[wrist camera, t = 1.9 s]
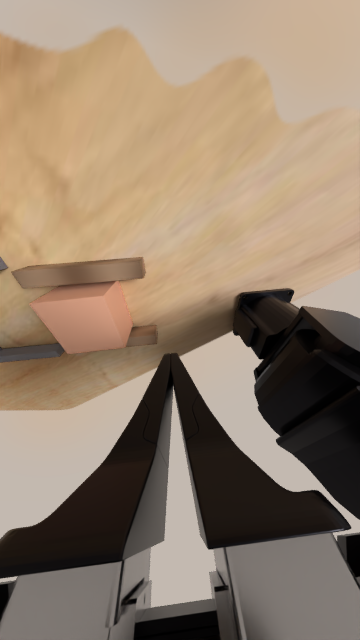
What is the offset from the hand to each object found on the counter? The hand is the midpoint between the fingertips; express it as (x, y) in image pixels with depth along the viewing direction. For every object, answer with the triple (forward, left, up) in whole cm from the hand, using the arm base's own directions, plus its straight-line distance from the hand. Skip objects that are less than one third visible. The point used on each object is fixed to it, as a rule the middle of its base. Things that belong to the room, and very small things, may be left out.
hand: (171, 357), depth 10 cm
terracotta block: (+8, 0, -9) cm, 12 cm away
